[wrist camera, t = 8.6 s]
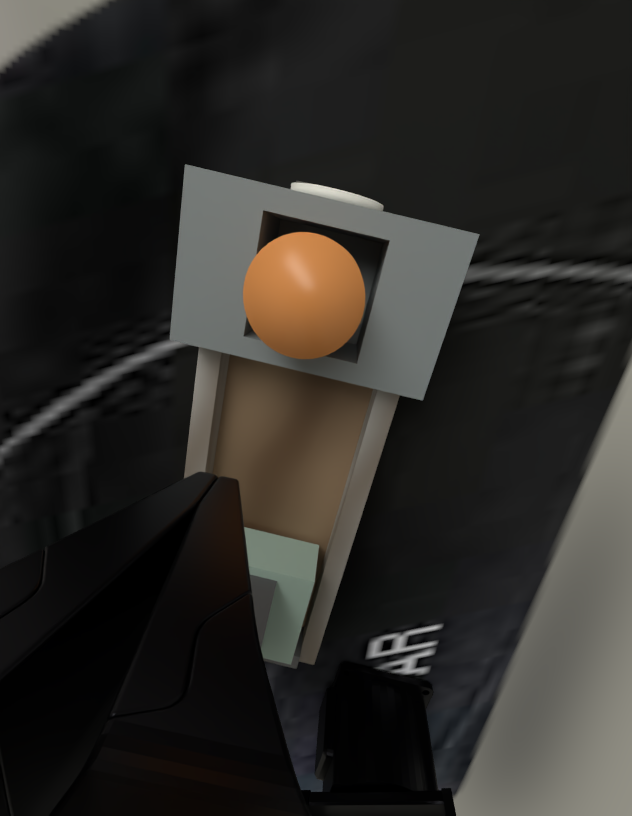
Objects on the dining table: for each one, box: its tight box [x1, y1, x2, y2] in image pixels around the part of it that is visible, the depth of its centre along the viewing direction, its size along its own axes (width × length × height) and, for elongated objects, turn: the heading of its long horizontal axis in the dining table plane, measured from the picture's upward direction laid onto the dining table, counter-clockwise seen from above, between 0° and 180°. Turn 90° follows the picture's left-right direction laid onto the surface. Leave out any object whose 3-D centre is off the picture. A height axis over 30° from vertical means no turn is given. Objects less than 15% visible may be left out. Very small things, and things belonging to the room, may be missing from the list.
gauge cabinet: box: [170, 164, 479, 401], centre depth 17 cm, size 10×7×5 cm, turn 77°
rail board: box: [184, 347, 400, 669], centre depth 22 cm, size 9×18×4 cm, turn 167°
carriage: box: [244, 527, 319, 665], centre depth 20 cm, size 6×6×7 cm
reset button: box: [243, 232, 365, 359], centre depth 14 cm, size 4×4×4 cm
